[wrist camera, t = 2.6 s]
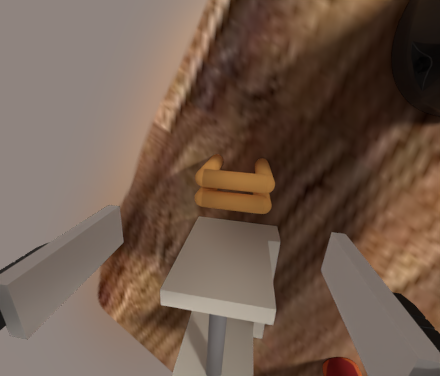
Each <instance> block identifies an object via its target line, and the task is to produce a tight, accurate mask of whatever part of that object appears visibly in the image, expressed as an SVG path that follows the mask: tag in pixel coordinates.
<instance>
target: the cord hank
mask: <svg viewBox="0 0 440 376" xmlns="http://www.w3.org/2000/svg"><path fill="white" fill-rule="evenodd" d="M222 165H223V158H222V156H220V155H218V154H216V155H213V156H212V157H211V158H210V159H209V160H208V161H207V162H206V163H205V164H204V165H203V166H202V167H201V168H200V170H199V171H198V172H197V173H196V175H195V180H196V183H197V184H198V185H200V186H201V187H200V189H199V190H198V192H197V193H196V194H195V202H196V204H197V205H199V206H201V207H208V208H216V209H224V210H232V211H241V212H249V213H257V214H266V213H268V212H269V211H270V209H271V206H272V204H271V199H270V195H269V193H270V192H271V191H272V190H273V189H274V187H275V181H274V178H273V175H272V172H271V169H270V166H269V163H268V161H267V160H266V159H258V160H257V161H256V163H255V174H253V173H243V172H233V171H223V170H220V168H221V166H222ZM218 188H219V189H228V190H237V191H246V192H253V195H249V194H240V193H232V192H223V191H217V189H218Z"/></svg>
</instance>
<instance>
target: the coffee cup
mask: <svg viewBox="0 0 440 376" xmlns="http://www.w3.org/2000/svg"><path fill="white" fill-rule="evenodd" d="M323 374H324V376H362V374H361V372H360V370H359V368H358V367H357V365H356V363H355V362H353V361H352V360H350V359H348V358H343V357H334V358H330V359H328V360H326V361H325V362H324V364H323Z"/></svg>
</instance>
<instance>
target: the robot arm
mask: <svg viewBox="0 0 440 376" xmlns="http://www.w3.org/2000/svg"><path fill="white" fill-rule="evenodd" d="M392 69H393V75H394V79H395V82H396V84H397V86H398V88H399V90H400V92H401V93H402V95H403V96H404V97H405V99H406V100H407V101H408V102H409V103H410V104H412V105H413V106H414V107H416V108H417V109H419V110H421V111H423V112H426V113H428V114H431V115H435V116H440V0H410V2H409V4H408V5H407V7H406V9H405V11H404V13H403V15H402V17H401V19H400V22H399V24H398V27H397V30H396V34H395V37H394V42H393V48H392ZM123 243H124V240H123V232H122V223H121V214H120V206H113V205H108V206H106V207H105V208H103V209H101V210H100V211H98V212H97V213H95V214H94V215H92V216H90V217H89V218H87V219H86V220H84V221H83V222H81V223H79V224H78V225H76V226H75V227H73V228H72V229H70V230H69V231H67V232H65V233H64V234H62V235H61V236H59V237H58V238H56V239H55V240H53V241H51V242H49V243H47V244H44V245H42V246H39V247H37V248H35V249H34V250H32V251H30V252H29V253H27V254H26V255H25V256H22V257H21V258H19V259H18V260H16V261H15V262H13V263H11V264H9V265H8V266H6V267H5V268H3V269H1V270H0V330H1V329H2V328H3V327H4V326H6V327H7V329H8V332H9V334H10V336H12V337H17V338H22V339H28V338H29V337H30V336H31V335H32V334H33V333H34V332H35V331H36V330H37V329H38V328H39V327H40V326H41V325H42V324H43V323H44V322H45V321H46V320H47V319H48V318H49V317H50V316H51V315H52V314H53V313H54V312H55V311H56V310H57V309H58V308H59V307H60V306H61V305H62V304H63V303H64V302H65V301H66V300H67V299H68V298H69V297H70V296H71V295H72V294H73V293H74V292H75V291H76V290H77V289H78V288H79V287H80V286H81V285H82V284H83V283H84V282H85V281H86V280H87V279H88V278H89V277H90V276H91V275H92V274H93V273H94V272H95V271H96V270H97V269H98V268H99V267H100V266H101V265H102V264H103V263H104V262H105V261H106V260H107V259H108V258H109V257H110V256H111V255H112V254H113V253H114V252H115V251H116V250H117V249H118V248H119V247H120V246H121V245H122V244H123ZM321 272H322V274H323V277H324V279H325V281H326V283H327V285H328V288H329V290H330V292H331V294H332V297H333V299H334V301H335V303H336V305H337V308H338V310H339V312H340V314H341V317H342V319H343V321H344V323H345V325H346V328H347V330H348V332H349V334H350V336H351V339H352V341H353V343H354V345H355V348H356V350H357V352H358V354H359V356H360V359H361V361H362V363H363V365H364V368H365V370H366V372H367V374H368V376H440V334H439V332H438V331H436V330H435V329H434V327H433V326H432V324H431V323H430V322H429V321H428V320H426V319H425V316H424V315H423V314H422V313H421V312H420V310H419V309H418V308H417V307H416V306H415V305H414V304H413V303H412V302H410V301H409V300H408V299H407V298H405V297H404V296H403V295H402V294H399V293H392V292H391V290H390V289H389V288H388V287H387V285H386V284H385V283H384V282H383V280H382V279H381V278H380V277H379V275H378V274H377V273H376V272H375V270H374V269H373V268H372V267H371V265H370V264H369V263H368V262H367V260H366V259H365V258H364V257H363V255H362V254H361V253H360V251H359V250H358V249H357V248H356V246H355V245H354V244H353V243H352V241H351V240H350V239H349V238H348V236H347V235H346V234H342V233H334V232H332V233H331V236H330V240H329V243H328V247H327V250H326V254H325V257H324V261H323V264H322V268H321Z"/></svg>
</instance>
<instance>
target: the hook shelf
mask: <svg viewBox="0 0 440 376" xmlns="http://www.w3.org/2000/svg"><path fill="white" fill-rule="evenodd" d="M280 243H281V241H280V237H279V232H278V228H277V226H272V225H264V224H256V223H248V222H240V221H232V220H225V219H217V218H209V217H201V216H199V217H198V219H197V220H196V222H195V224H194V226H193V228H192V230H191V232H190V234H189V236H188V238H187V239H186V241H185V243H184V245H183V247H182V249H181V251H180V253H179V255H178V257H177V259H176V260H175V262H174V264H173V266H172V268H171V270H170V272H169V274H168V276H167V278H166V279H165V281H164V283H163V285H162V287H161V289H160V297H161V305H164V306H169V307H175V308H180V309H186V310H191V311H192V312H191V315H190V319H189V322H188V325H187V328H186V332H185V335H184V338H183V341H182V345H181V348H180V351H179V354H178V358H177V361H176V364H175V367H174V371H173V374H172V376H253V337H255V338H260V339H262V336H263V331H264V326H265V324H269V325H273V323H274V319H275V314H276V302H275V294H274V286H273V279H274V274H275V269H276V264H277V259H278V253H279V248H280Z"/></svg>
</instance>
